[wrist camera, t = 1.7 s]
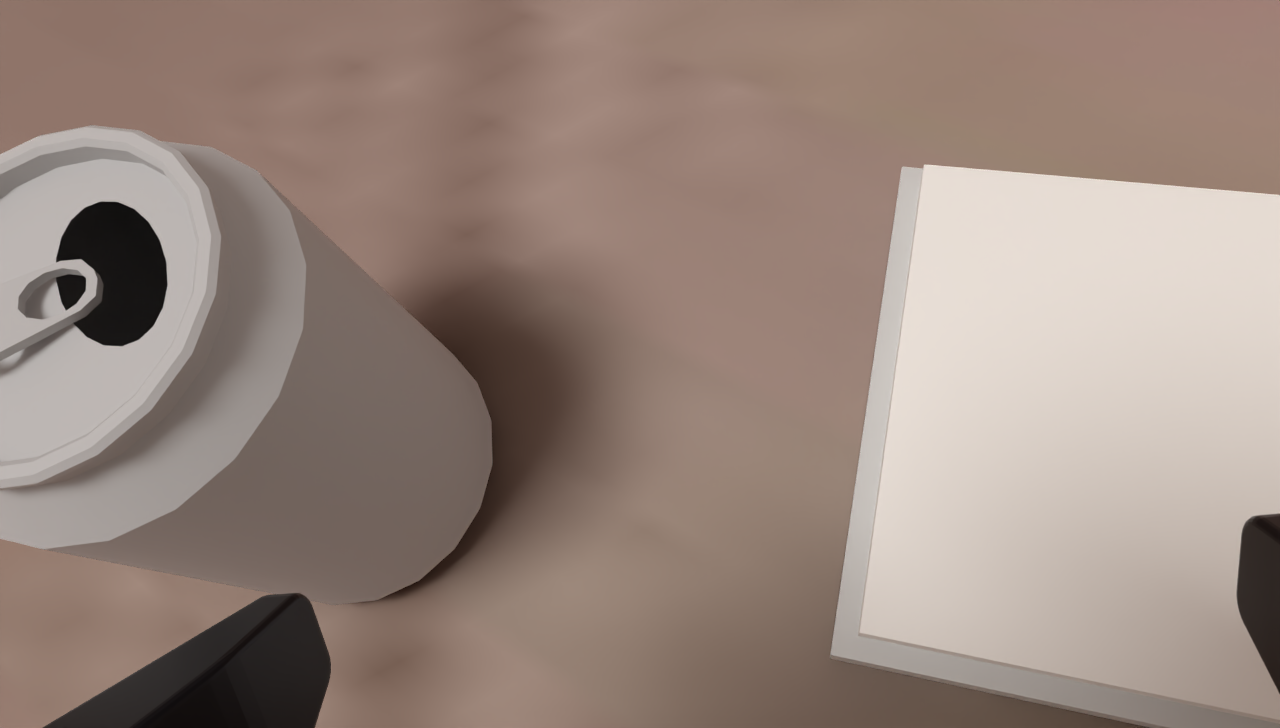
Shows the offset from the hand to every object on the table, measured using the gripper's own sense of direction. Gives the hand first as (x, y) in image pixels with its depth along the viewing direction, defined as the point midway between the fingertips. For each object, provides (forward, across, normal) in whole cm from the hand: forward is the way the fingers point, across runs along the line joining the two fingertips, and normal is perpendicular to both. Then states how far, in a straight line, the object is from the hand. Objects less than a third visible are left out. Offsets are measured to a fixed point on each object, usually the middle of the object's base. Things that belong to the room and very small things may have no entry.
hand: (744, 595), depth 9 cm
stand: (+13, -8, +6) cm, 17 cm away
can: (+14, +11, +5) cm, 19 cm away
